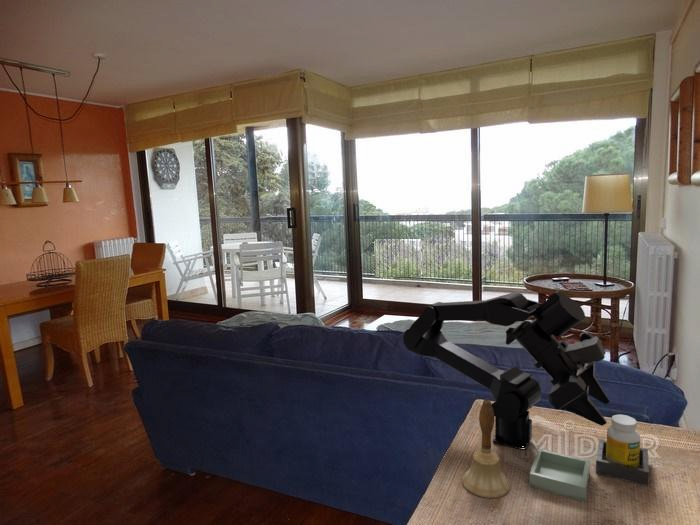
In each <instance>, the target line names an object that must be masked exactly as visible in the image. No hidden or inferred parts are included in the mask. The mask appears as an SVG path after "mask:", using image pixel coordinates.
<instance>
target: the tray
mask: <svg viewBox="0 0 700 525" xmlns="http://www.w3.org/2000/svg"><path fill="white" fill-rule="evenodd" d="M531 465H532V466H531V469H530V471H529V479H528V480H529V483H528V486H529V487H530V488H535V489H538V490H541V491H546V492H548V493H552V494H556V495H560V496H563V497H568V498H571V499H575V500H579V501H582V502H586V499H587V492H588V486H589V478H590V473H591V471H590V470H591V467H590V466H591V460H589V459H586V458H581V457H576V456H572V455H568V454H563V453H560V452H556V451H551V450H546V449H543V448H542V449H541V448H537V451H536V454H535V456H534V460H533V462H532V464H531Z"/></svg>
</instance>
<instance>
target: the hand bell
mask: <svg viewBox="0 0 700 525" xmlns="http://www.w3.org/2000/svg"><path fill="white" fill-rule="evenodd" d="M491 404H492V401H491V400H490V399H484V400H482V405H481V407H480V410H479V414H478V416H479V417H478V422H479V429H480V430H481V445H480V446H481V447H480V449H478V450H476V451H475V452H474V453H473V455H472V462H471V465H470V467H469V469H467V470H466V471H465V472H464V474H463V475H462V478H461V483H462V485H463V487H464V488H465V489H466V490H467V491H468V492H469V493H472V494H474V495H475V496H477V497H482V498H489V499H496V498H500V497H504V496H505V495H507V494H508V493H509V491H510V489H511V484H510V482H509V480H508V478H507V477H506V476H505V475H504V473H503V472H502V470H501V465H500V464H501V463H500V457H499V455H498V454H497V453H496V452H494V451H492V432H493V429H494V427H495V426H494V425H495V416H494V411H493V408H492V405H491Z"/></svg>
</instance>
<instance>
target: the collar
mask: <svg viewBox="0 0 700 525" xmlns="http://www.w3.org/2000/svg"><path fill="white" fill-rule="evenodd" d="M606 443H607V440H606V439H605V440H603V439H598V445H597V452H596V461H595V474H599V475H602V476H603V475H604V476H606V477H609V478H610V477H612V478H616V479H619V480H623V481H628V482H631V483H636V484H640V485H644V486H649V478H650V477H649V476H650V475H649V474H650V471H649V470H650V469H649V468H650V466H649V450H648V449H647V448H643V447H640V453H639V463H641V467H639V468H637V467H633V466H629V465H624V464H620V463H615V462H611V461H607V460H606V459H603V457H604V455H605V456H606Z"/></svg>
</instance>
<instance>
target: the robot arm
mask: <svg viewBox="0 0 700 525" xmlns="http://www.w3.org/2000/svg"><path fill="white" fill-rule="evenodd" d="M531 318H534V319H533V320H532V321H529V319H531ZM585 319H586V314H585V311H584V309H583V308H582V306H581V305H580V304H579V303H578V302H577V301H575V300H573V299H572V298H571V297H570V296H567V295H564V294H563V293H562V291H561V290H557V291H555V292H553V293H552V294H551V295H550V296H549V297H548V298H547V299H546V300H545V301H543V302H542V303H541V302H539V301H535V300H532V299H529V298H527V297H526V296H525V295H523V293H520V292H511V293H506V294H502V295H499V296H495V297H492V298H488V299H485V300H468V301H467V300H466V301H452V302H451V301H448V302H441V301H438V302H434V303H432V304H429V305H427V306H425V308H424V310H423V311H422V313H421V314H420V315H419V316H418V318H416V320H415V321H413V323H411V325H410V327H409V328H408V329H406V330H405V331H404V334H403V339H402V340H403V343H404V346H405V348H406V350H408V351H409V352H410V353H413V354H416V355H418V356H422V357H427V358H435V359H437V360H439V361H440V362H442V363H443V364H444V365H445V364H446V365H447V366H448V367H450V368H452V369H454V370H455V371H457V372H459V373H460V374H462V375H464V376H466V377H468V378H469V379H471V380H472V381H474V382H476V383H477V384H479V385H481V386H482V387H484V388H486V389H488V390H489V391H490V393H491V395H492V396H493V398H494V400H495V401H494V402H493V403H492V402H491V405H492V408H493V411H494V425H495V426H494V427H495V430H494V437H493V438H492V442H493V443H494V444H499V445H503V446H507V447H511V448H515V447H517V448H516V449H519V448H525V447H526V445H527V446H528V444H530V443H531V441H532V437H533V420H532V418H530V409H532V408H533V406H534V405H536V404H537V403H538V402H540V401H541V398H542V394H543V393H542V388H541V387H540V383H539V382H538V381H537V380H536V379H535V378H533V374H532V373H527V372H525V371H523V370H521V369H520V368H519V367H518V366H512V367H510V368H509V369H507V370H502V369H499V368H498V367H496V366H495V365H492V364H491V363H489V362H487V361H485V360H483V359H482V358H480V357H478V356H476V355H474V354H472V353H471V352H468V351H467V350H465V349H463V348H461V347H460V346H459V345H456V344H454V343H453V342H451V341H449V340H447V339H446V337H445V335H444V333H443V332H442V329H443V326H444V323H445V322H449V321H451V322H452V321H453V322H454V321H482V322H483V321H484V322H487V323H488V324H491V325H496V326H501V327H508V326H510V327H508V329H506V330H505V334H506V335H505V336H506V337H505V344H506V345H510V344H512V343H513V342H514V341H516V342H518V344H519V345H520V346H521V347H522V348H523V349H524V350H525V351H526V352H527V353H528V354H529V355H530V357H532V359H534V361H535V363H534V366H535V367H536V368H537V369H540V368H542V369H543V371H545V373H547V374H548V376H550V378H551V379H550V383H551V384H552V385H553V386H552V387H551V389H550V391H549V394H548V402H549V403H550V405H551V406H553V408H555V410H556V411H558V410H559V409H560V410H561V411H567V412H569V413H571V414H575V415H577V416H579V417H582V418H584V419H586V420H589V421H590V422H592V423H595V424H597V425H599V426H605V425H606V424H608V423H607V420H606V419H605V417H604V416H603V414H602V413H601V411H600V410H599V409H598V407H597V406H596V405H595V404H594V402H593V401H592V399H591V398H590V397H592V398H594V399H595V400H597V401H598V402H600V403H602V404H604V405H607V404H610V400H611V399H610V398H609V396H608V395H607V394H606V392H605V390H604V388H603V387H602V386H601V383H600V382H599V379H598V378H597V376H596V374H595V366H596V363H597V362H601V361H604V360H605V358H606V356H605V354H607V353H606V350H605V349H604V346H603V344H602V339H600V338H599V337H598V336H597V335H593V333H591V332H589V331H585V332H581V333H580V334H579V341H574V343H572V344H571V343H570V344H568V343H567V342H566V341H565V340H562V339H560V340H558V339H557V338H556V337H562V336H563V335H564V334H566V333H567V332H569V331H570V330H571V329H573V328H575V327H576V326H578V325H579V324H580V323H581V322H583V321H584V320H585ZM517 322H518V323H519V322H521V323H520V324H519V325H517V326H516V327H511V325H514V324H516V323H517ZM589 396H590V397H589ZM527 443H528V444H527ZM522 446H524V447H522ZM526 448H527V447H526Z"/></svg>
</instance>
